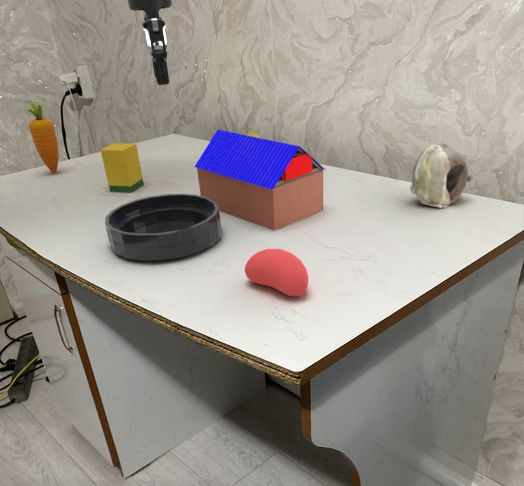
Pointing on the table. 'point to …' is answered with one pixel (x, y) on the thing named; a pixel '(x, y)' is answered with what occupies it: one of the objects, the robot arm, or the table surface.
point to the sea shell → (439, 176)
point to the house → (260, 179)
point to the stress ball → (278, 271)
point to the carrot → (44, 137)
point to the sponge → (122, 167)
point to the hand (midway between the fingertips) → (162, 81)
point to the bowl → (163, 226)
